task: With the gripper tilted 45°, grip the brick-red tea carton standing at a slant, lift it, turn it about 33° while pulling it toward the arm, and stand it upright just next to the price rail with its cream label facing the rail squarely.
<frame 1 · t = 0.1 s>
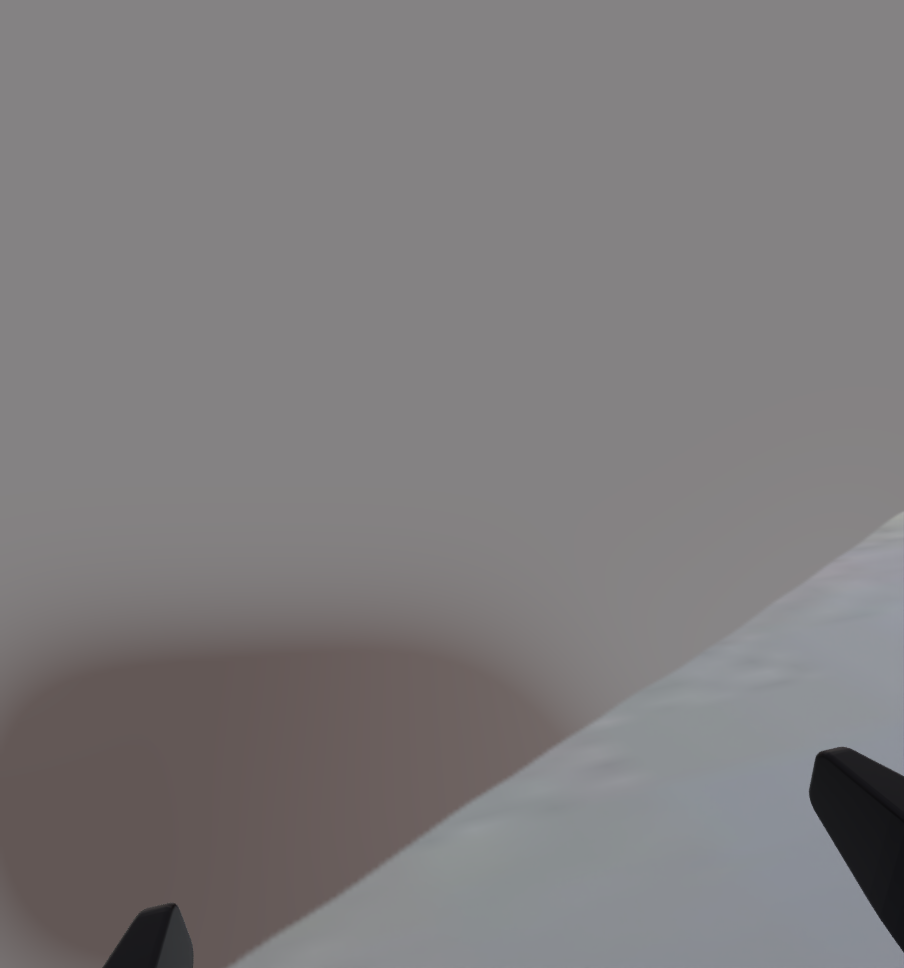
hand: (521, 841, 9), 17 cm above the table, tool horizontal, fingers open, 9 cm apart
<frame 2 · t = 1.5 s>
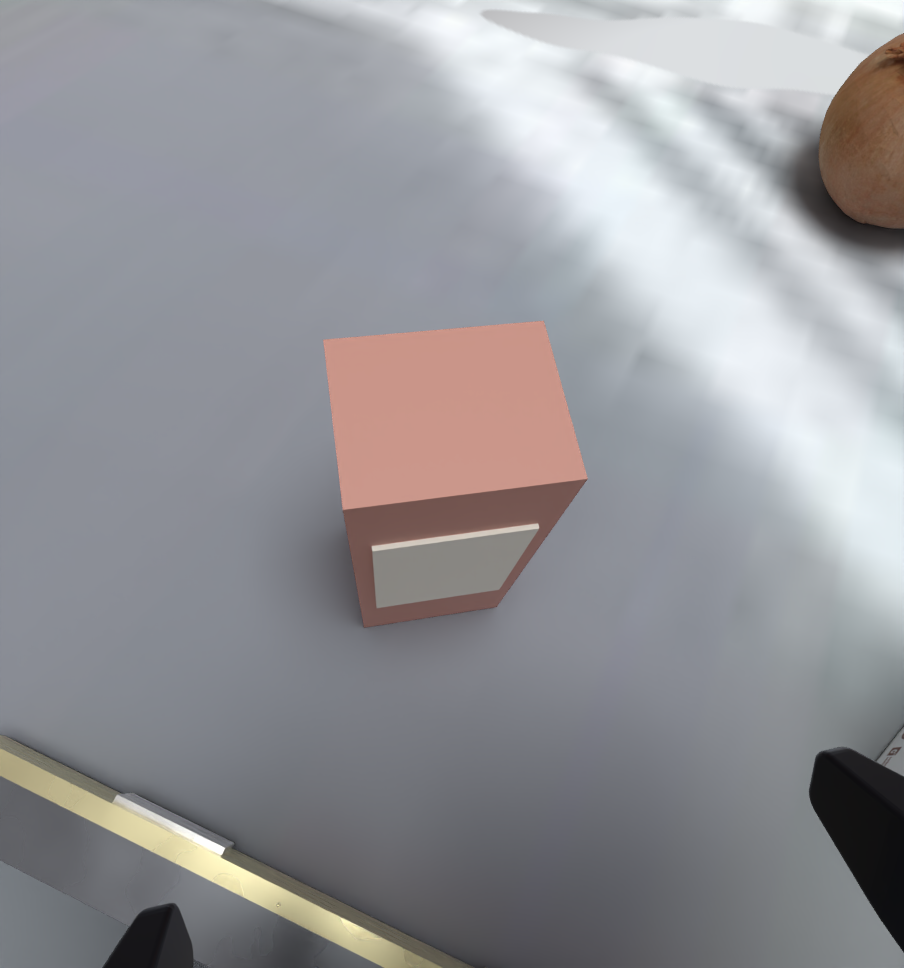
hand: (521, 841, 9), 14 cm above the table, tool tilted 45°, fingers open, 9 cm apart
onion: (866, 203, 35), on the table
price rail: (333, 960, 19), on the table
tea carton: (423, 565, 24), on the table
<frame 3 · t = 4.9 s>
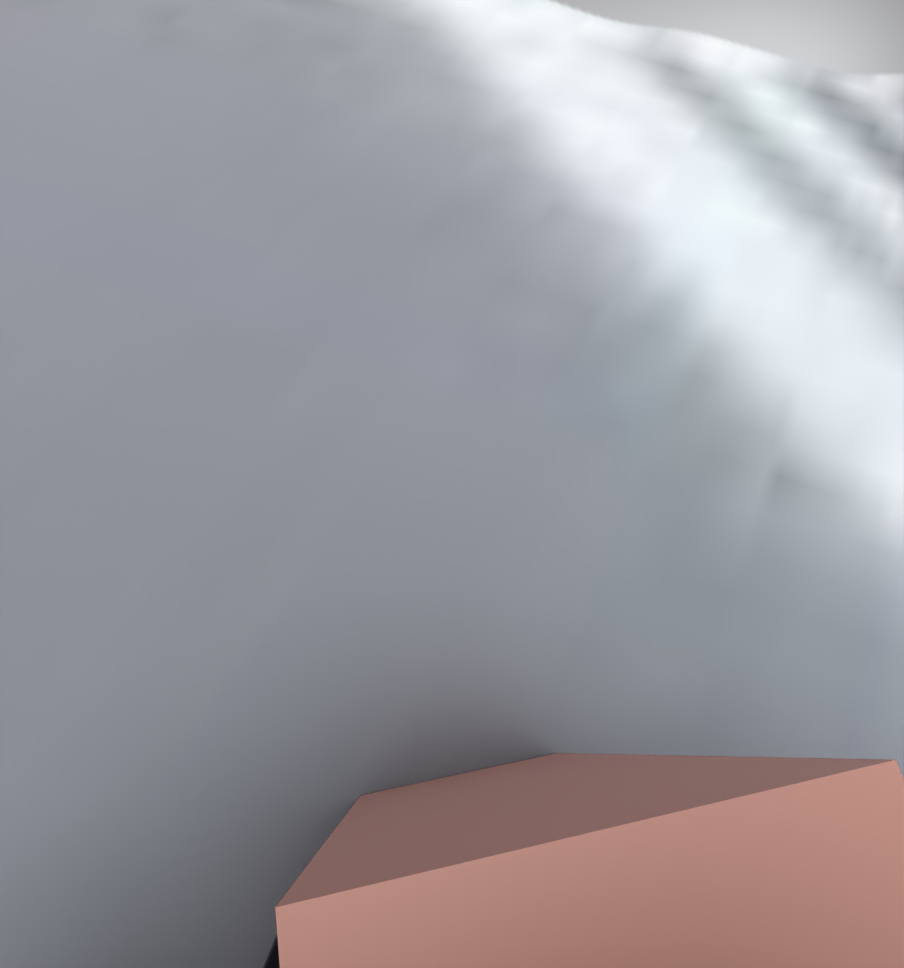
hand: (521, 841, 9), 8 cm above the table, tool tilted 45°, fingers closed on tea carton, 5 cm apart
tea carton: (476, 864, 15), on the table, touching gripper
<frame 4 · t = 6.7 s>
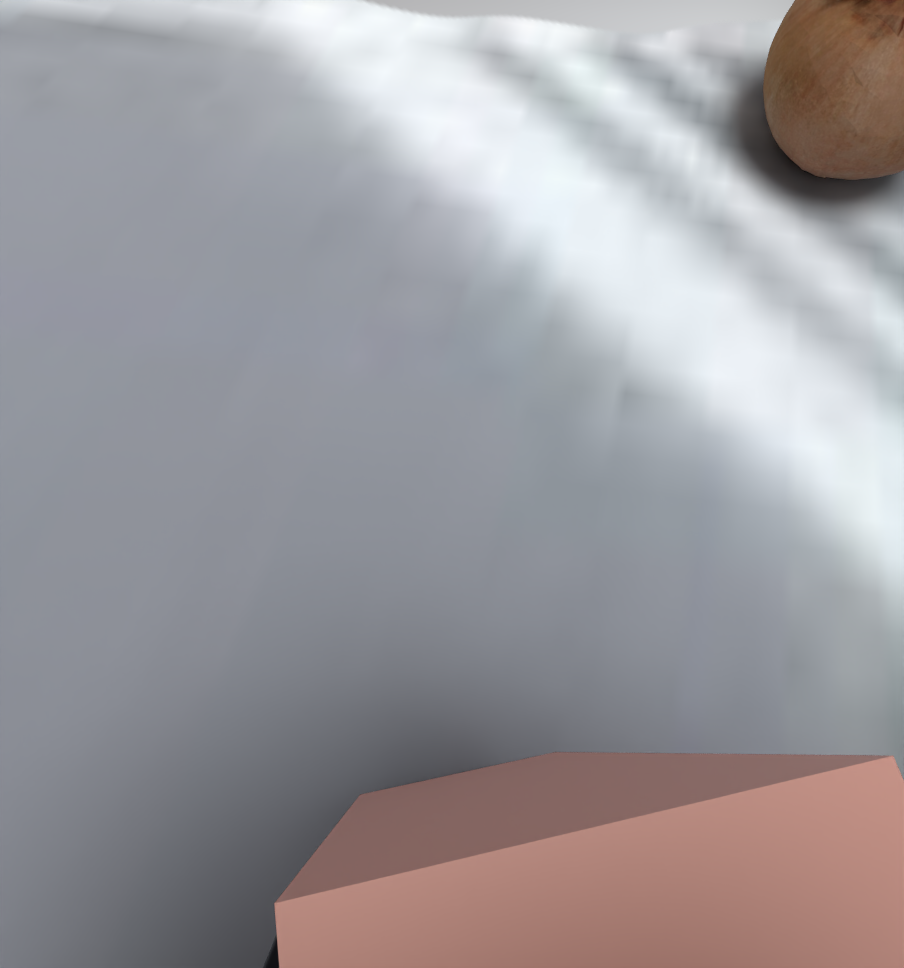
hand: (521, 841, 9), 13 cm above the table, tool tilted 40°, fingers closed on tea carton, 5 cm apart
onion: (819, 148, 32), on the table
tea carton: (476, 863, 15), point 5 cm above the table, touching gripper
when the fingers open (9 cm above the table, at t = 8.9 s): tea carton drops 1 cm, on the table.
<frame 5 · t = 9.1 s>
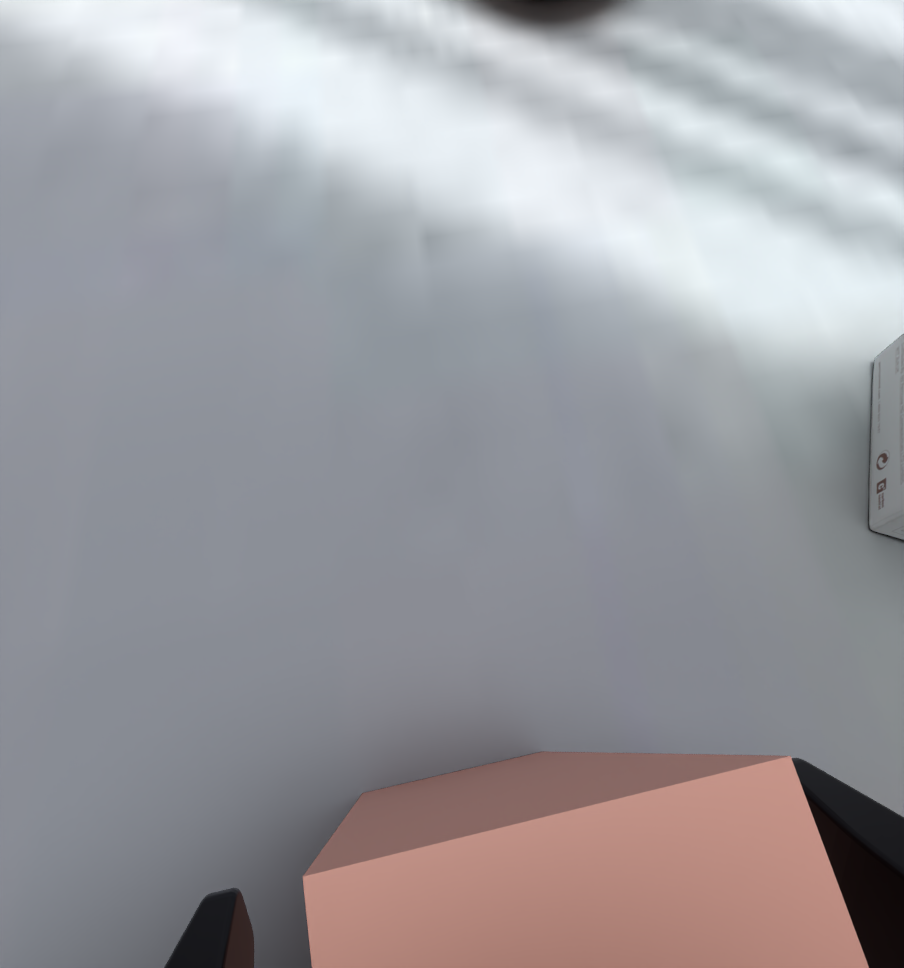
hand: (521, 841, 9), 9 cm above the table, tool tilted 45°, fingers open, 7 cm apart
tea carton: (470, 854, 17), on the table
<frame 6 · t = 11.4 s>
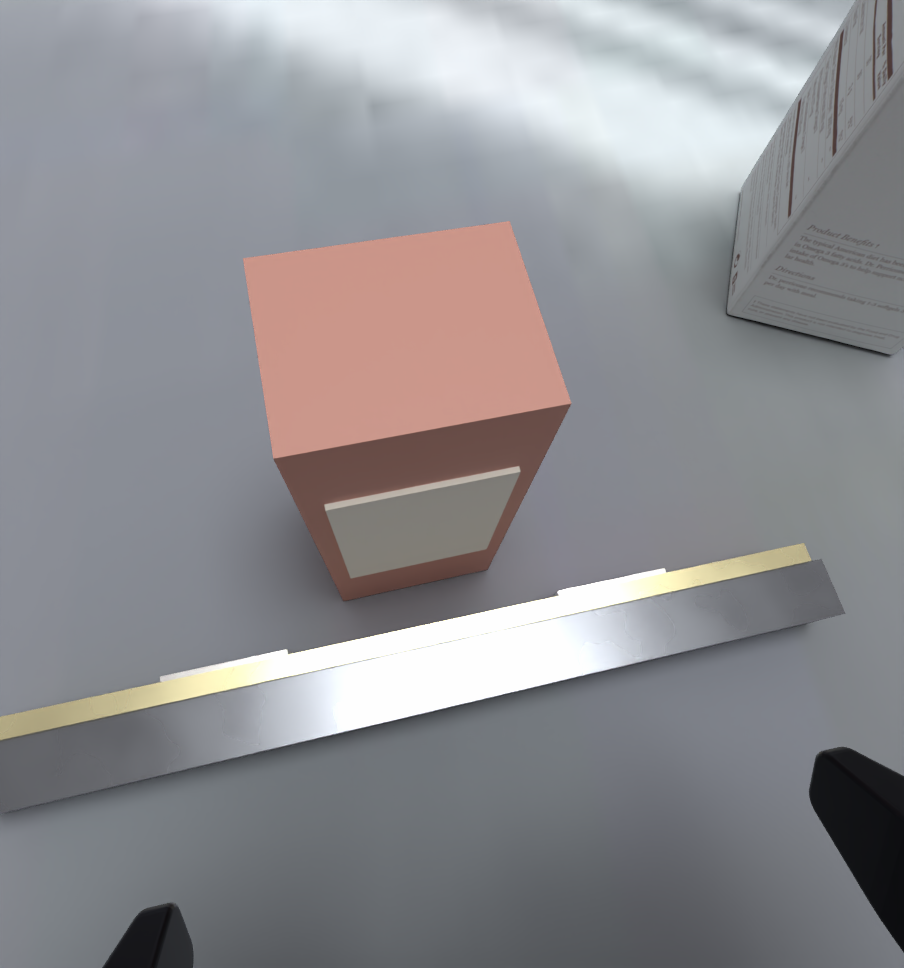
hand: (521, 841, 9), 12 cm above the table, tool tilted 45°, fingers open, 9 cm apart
supplement box: (807, 273, 28), on the table
price rail: (435, 680, 20), on the table
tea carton: (404, 529, 22), on the table
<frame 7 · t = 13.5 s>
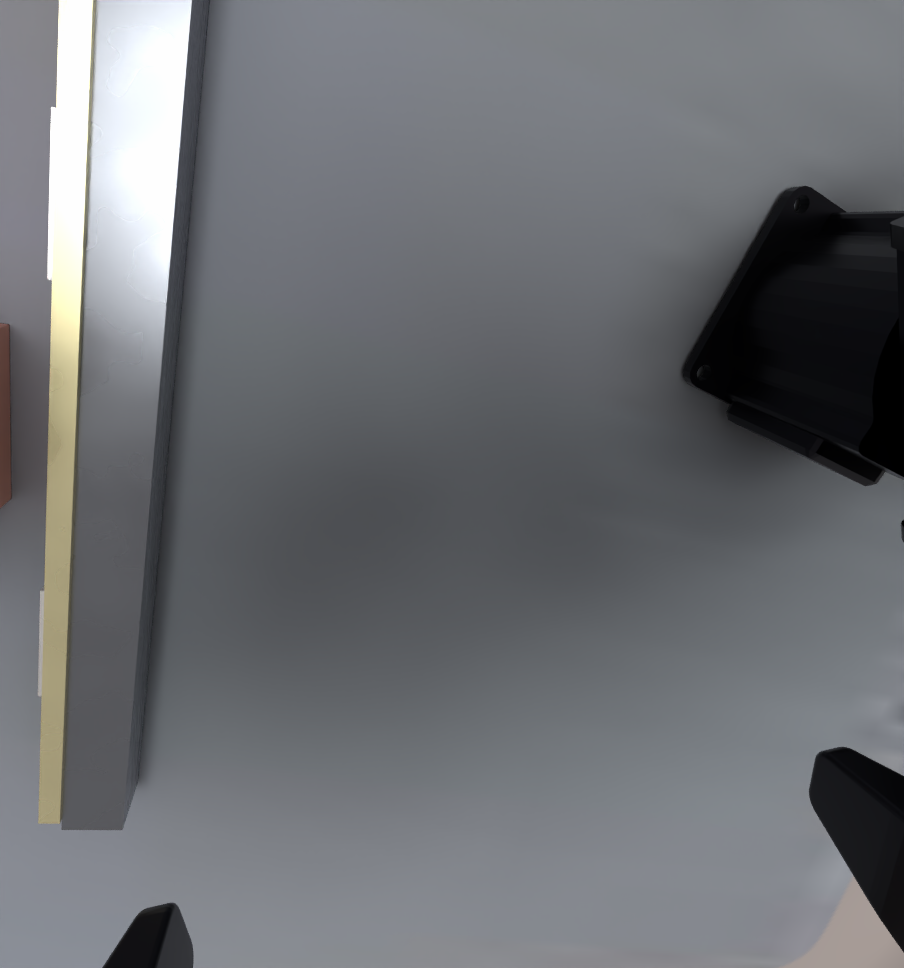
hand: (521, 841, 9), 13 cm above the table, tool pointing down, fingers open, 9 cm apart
price rail: (135, 436, 18), on the table
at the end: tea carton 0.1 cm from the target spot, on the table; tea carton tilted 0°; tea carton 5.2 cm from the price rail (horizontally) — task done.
